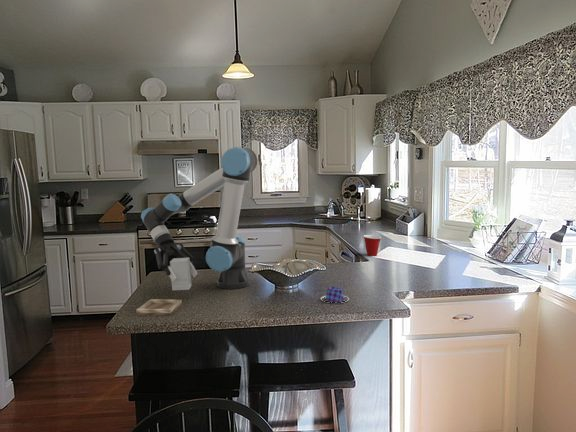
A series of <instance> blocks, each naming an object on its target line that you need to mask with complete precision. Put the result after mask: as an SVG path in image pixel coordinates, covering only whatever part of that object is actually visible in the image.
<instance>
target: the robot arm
mask: <svg viewBox="0 0 576 432" xmlns="http://www.w3.org/2000/svg"><path fill="white" fill-rule="evenodd" d="M220 164H221V167H220V168H219V169H218V170H215V171H214V172H212V173H211V174H210V175H208V176H206V177H205V178H203V179H202V180H200V181H199V182H197V183H196V184H194V185H193V186H191V187H190V188H188V189H187V190H185V191H183V192H182V193H180V194H178V195H177V194H173V193H169V194H167V195H166V196H164V198H163V199H162V200H161V201H160V202H159V203H158V204H157V205H156V206H155V207H148V208H146V209H143V210H142V212H141V214H140V218H141V221H142V223H143V225H144V226H145V228H146V229H147V231H148V232H149V235H150V236H151V238H152V239H153V242H154V243H155V245H156V247H155V248H154V250H153V255H154V256H155V259H156V263H157V268H158V270H161V271H162V272H165V274H166V276H168V277H169V278H170V281H171V280H172V282H175V280H176V276H175V274H174V273H173V271H172V269H171V267H170V265H168V264H169V263H168V262H169V257H170V256H175V257H176V258H190V271H191V276H192V277H193V278H195V277H197V275H198V271H197V270H196V266H195V264H194V261H195V256H194V255H192V254H191V252H189V250H187V248H185V247H184V245H183V243H180V244H176V243H175V240H174V239H173V236H172V235H171V233H170V231H169V230H168V228H167V226H166V225H165V222H167V220H168V219H169V218H170V217H172V216H173V215H175V214H178V213H179V214H180V213H184V212H187V211H188V210H189V209H190V208H191V207H193V206H194V205H195V204H197V203H198V202H200V201H202V200H204V199H205V198H206V197H209V196H210V195H212V194H214V193H215V192H216V191H218V190H220V189H221V188H223V189H222V197H221V204H220V210H219V216H218V219H217V220H218V221H217V226H216V233H215V235H214V236H212V238H211V243H210V247H209V248H208V250H207V251H206V254H205V262H206V264H207V265H208V266H209V268H210V269H211V270H212V271H215V272H218V277H217V280H216V281H217V282H216V283H217V285H216V287H219V288H220V289H228V290H231V289H234V290H235V289H241V288H246V287H248V286H249V285H250V278H249V275H248V272H247V269H246V250H245V248H246V247H245V245H246V243H245V238H244V237H242V236H237V230H238V227H239V220H240V213H241V208H242V202H243V198H244V192H245V191H244V190H245V186H246V184H247V183H249V181H250V178H251V173H253V172H254V171H255V170H256V168H257V166H258V156H257V154H256V153H255V151H254V150H252V149H250V148H248V147H241V146H234V147H230V148H228V149H226V151H225V152H223V154H222V156H221V161H220ZM162 254H163V257H162Z"/></svg>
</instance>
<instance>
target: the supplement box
mask: <svg viewBox="0 0 576 432" xmlns="http://www.w3.org/2000/svg"><path fill="white" fill-rule="evenodd" d="M169 266H170V267H171V269H172V271H173V273H174V274H175V276H176V280H175V282H172V280H171V279H170V281H171V282H170V283H171V291H189V290H190V288H191V287H192V273H191V271H190V258H179V257H176V258H175V257H174V258H172V259H171V260H170V261H169Z"/></svg>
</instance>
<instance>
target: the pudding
mask: <svg viewBox="0 0 576 432" xmlns="http://www.w3.org/2000/svg"><path fill="white" fill-rule="evenodd" d="M325 293H326V294H325V295H323V296H321V297H320V299H319V300H321V301H322V302H324V303H326V302H325V301H330V302H331V303H332V302H335V303H337V302H340V301H345V300H344V297H347V298H348V300H347V301H345V302H341V303H346V302H348V301H350V298H349V297H348V296H346V295H344V292H343V288H341V287H340V286H330V287H328V288H327V290H326V292H325ZM324 297H325V299H326V300H325V301H323V300H322V298H324ZM330 302H327V303H329V304H331V303H330ZM341 303H340V304H341Z"/></svg>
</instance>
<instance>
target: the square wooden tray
mask: <svg viewBox="0 0 576 432" xmlns="http://www.w3.org/2000/svg"><path fill="white" fill-rule="evenodd" d="M182 301H183V299H160V298H159V299H158V298H157V299H156V298H154V299H149V300H148V301H146V302H145V303H143V304H142V305H140V306H139V307H138V308H136V310H135V311H136V312H135V316H172V315H173V314H174V313H175V312H176V311H178V310H179V308H181V307H182V306H183V305H184V303H183V302H182Z"/></svg>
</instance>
